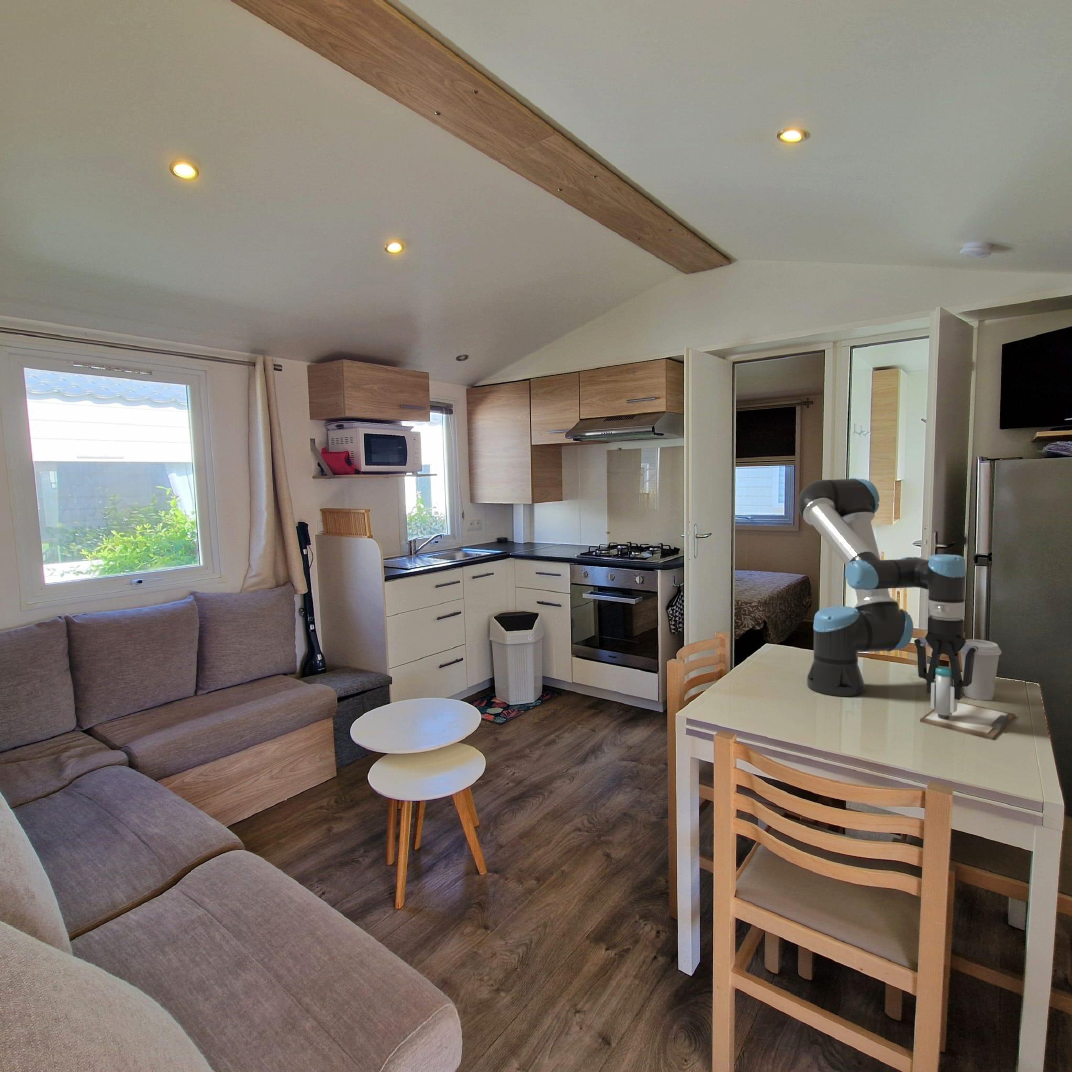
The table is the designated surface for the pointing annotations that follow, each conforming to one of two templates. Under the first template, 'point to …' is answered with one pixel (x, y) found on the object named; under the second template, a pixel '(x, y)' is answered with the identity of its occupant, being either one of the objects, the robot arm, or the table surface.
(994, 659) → the coffee cup
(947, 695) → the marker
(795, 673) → the table surface
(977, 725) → the clipboard
